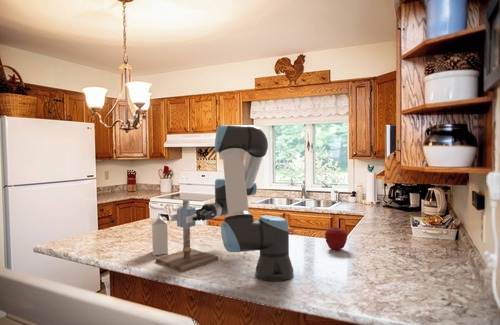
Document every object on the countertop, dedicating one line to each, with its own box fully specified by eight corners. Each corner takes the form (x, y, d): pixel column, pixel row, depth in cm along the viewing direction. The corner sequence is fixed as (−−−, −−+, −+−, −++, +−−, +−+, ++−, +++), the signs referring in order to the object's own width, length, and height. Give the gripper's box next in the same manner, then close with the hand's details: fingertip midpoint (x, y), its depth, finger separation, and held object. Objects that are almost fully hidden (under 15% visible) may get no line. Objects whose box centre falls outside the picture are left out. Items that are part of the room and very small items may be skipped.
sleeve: (198, 224, 147) (198, 207, 147) (184, 228, 141) (184, 209, 141) (188, 222, 152) (187, 205, 152) (173, 225, 146) (173, 208, 146)
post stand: (218, 259, 148) (217, 199, 147) (182, 271, 133) (181, 204, 132) (190, 251, 161) (189, 195, 161) (155, 261, 146) (154, 200, 146)
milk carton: (152, 255, 155) (151, 216, 155) (153, 251, 162) (152, 214, 162) (167, 254, 157) (167, 215, 157) (167, 250, 164) (166, 213, 164)
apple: (348, 253, 155) (348, 229, 154) (325, 252, 157) (325, 228, 156) (346, 247, 165) (346, 224, 165) (324, 246, 168) (324, 224, 167)
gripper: (228, 220, 157) (197, 230, 137) (194, 216, 168) (162, 225, 148) (227, 205, 157) (197, 212, 137) (194, 202, 168) (161, 208, 148)
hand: (179, 219), depth 143 cm, fingers closed on sleeve, 8 cm apart
